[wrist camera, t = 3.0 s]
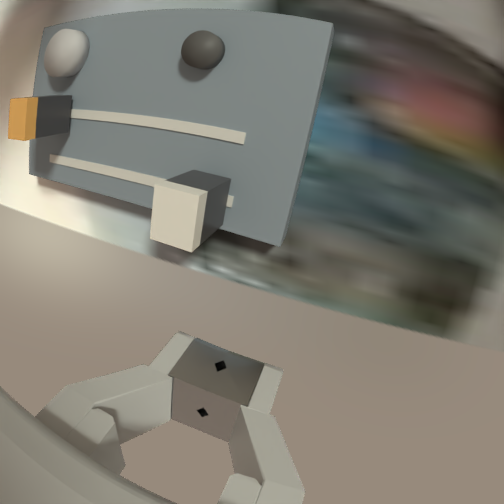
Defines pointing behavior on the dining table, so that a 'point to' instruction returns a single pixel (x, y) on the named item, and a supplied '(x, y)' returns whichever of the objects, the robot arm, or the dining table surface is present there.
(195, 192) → the fader white
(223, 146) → the console
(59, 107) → the fader orange
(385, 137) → the dining table surface
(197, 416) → the robot arm
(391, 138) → the dining table surface
